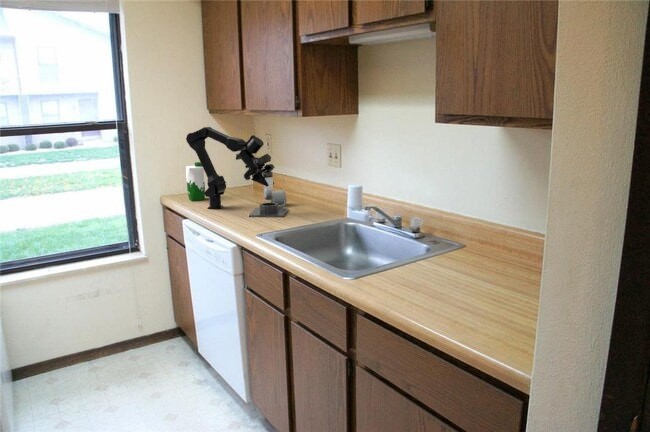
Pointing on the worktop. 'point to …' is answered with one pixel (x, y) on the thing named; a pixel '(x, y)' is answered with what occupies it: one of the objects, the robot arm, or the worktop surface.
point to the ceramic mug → (279, 198)
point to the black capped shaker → (268, 190)
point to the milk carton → (195, 182)
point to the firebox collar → (268, 211)
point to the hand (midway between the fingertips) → (270, 185)
